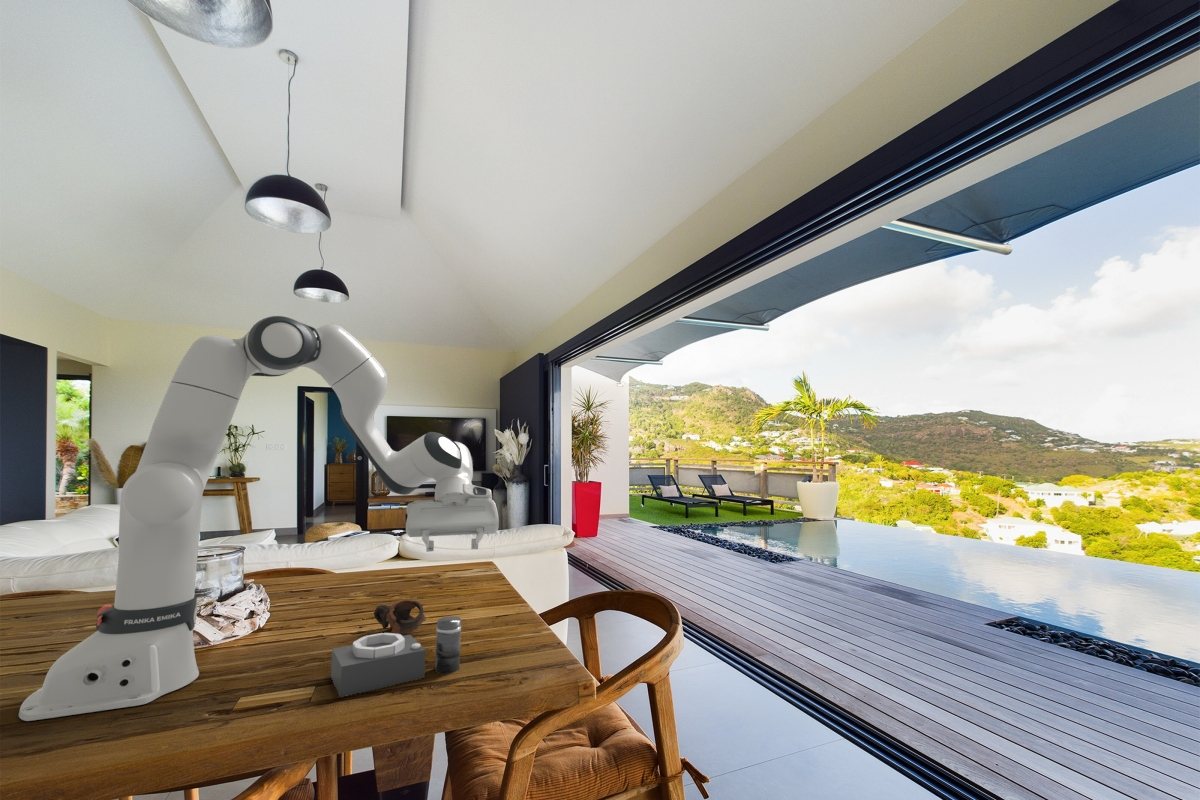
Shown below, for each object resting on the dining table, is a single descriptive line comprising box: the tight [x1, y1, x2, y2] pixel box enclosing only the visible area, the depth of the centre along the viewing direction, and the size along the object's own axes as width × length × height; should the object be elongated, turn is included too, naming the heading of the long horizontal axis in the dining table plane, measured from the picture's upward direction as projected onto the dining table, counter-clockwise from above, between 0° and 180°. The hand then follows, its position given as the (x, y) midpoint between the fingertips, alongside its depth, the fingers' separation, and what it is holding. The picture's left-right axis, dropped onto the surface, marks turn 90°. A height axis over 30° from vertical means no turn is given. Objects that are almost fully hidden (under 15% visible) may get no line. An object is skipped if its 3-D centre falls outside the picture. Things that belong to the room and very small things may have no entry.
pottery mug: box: [373, 598, 427, 636], centre depth 122 cm, size 12×10×8 cm
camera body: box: [330, 632, 426, 698], centre depth 98 cm, size 14×10×6 cm
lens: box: [435, 616, 462, 674], centre depth 102 cm, size 5×5×9 cm
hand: (452, 548), depth 116 cm, fingers open, 8 cm apart
